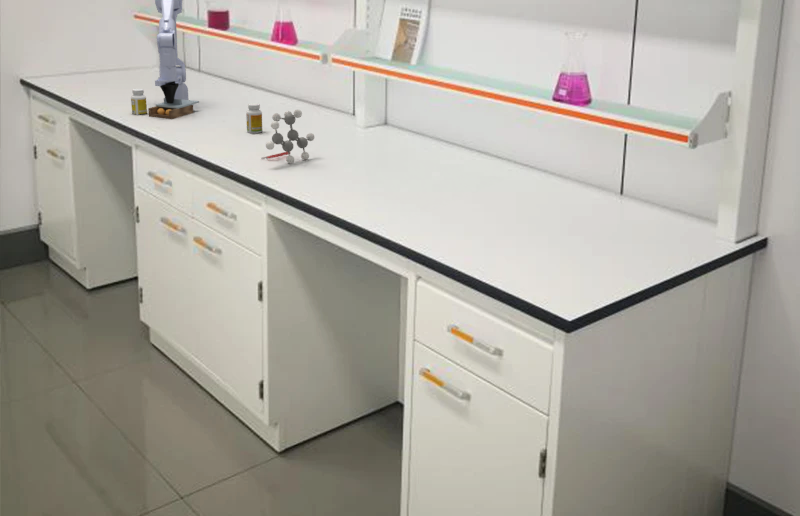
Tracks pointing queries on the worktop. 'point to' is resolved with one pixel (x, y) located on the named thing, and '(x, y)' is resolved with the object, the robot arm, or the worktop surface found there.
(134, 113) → the supplement bottle
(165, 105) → the lid
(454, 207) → the worktop surface
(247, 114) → the supplement bottle
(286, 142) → the molecule model
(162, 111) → the ball
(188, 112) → the case
